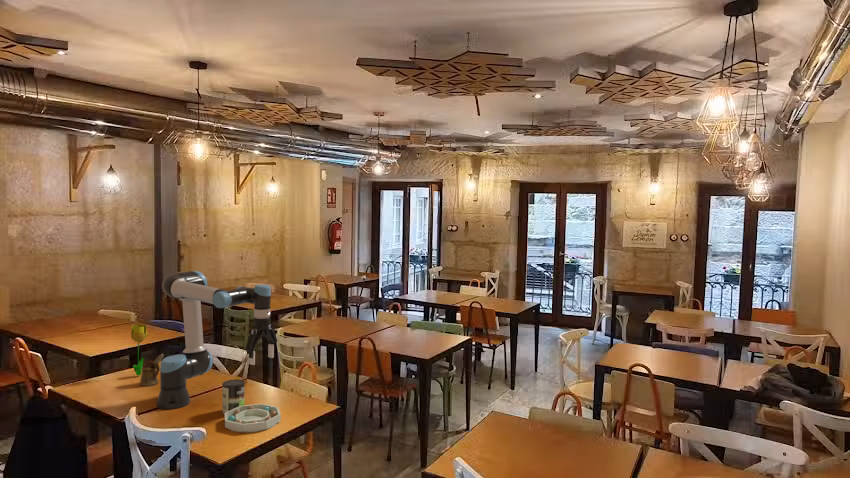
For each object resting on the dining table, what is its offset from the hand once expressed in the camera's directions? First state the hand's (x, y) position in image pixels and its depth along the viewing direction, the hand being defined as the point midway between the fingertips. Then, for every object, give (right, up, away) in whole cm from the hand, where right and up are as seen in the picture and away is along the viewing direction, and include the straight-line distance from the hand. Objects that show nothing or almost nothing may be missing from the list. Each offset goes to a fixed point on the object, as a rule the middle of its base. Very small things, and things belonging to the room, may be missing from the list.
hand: (261, 360), depth 263 cm
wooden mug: (-71, -21, +37) cm, 83 cm away
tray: (-1, -26, -11) cm, 28 cm away
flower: (-85, -20, +50) cm, 101 cm away
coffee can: (-14, -25, +1) cm, 28 cm away
